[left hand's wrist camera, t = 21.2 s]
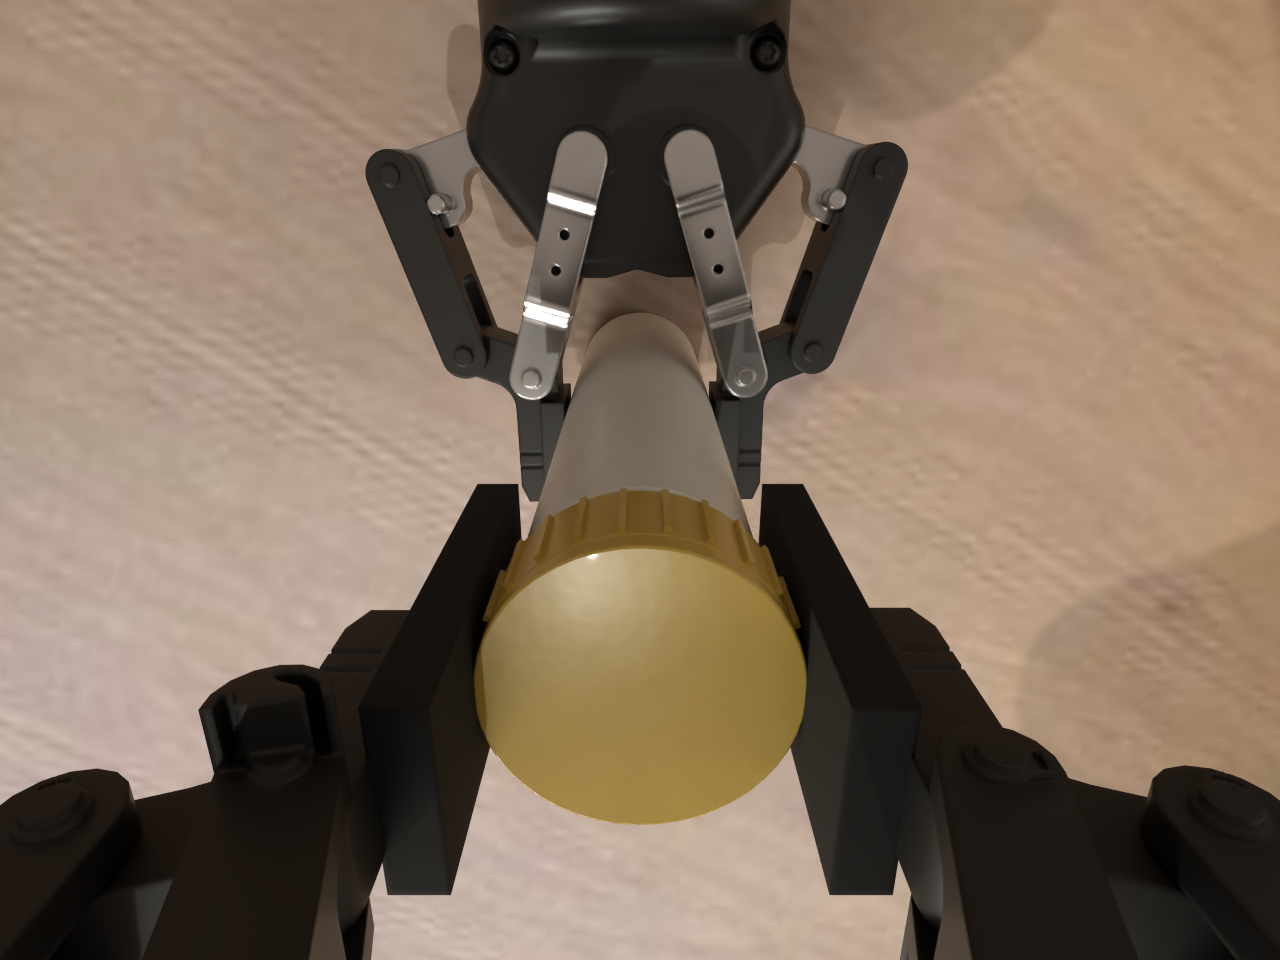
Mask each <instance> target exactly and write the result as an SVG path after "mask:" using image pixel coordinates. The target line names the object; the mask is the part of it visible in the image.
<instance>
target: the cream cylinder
mask: <svg viewBox="0 0 1280 960" xmlns="http://www.w3.org/2000/svg"><path fill="white" fill-rule="evenodd" d="M620 488H627V491H655V492H661V491H662V489H668V490H669V493H670V494H675V495H680V496H684V497H687V498H690V499H693V500H696V501H699V502H701V500H702V499H704V500H706V501H708V502H709V506H710V507H712V508H714V509H716V510H718V511H720V512H722V513H723V514H725V515H726V516H728V517H729V518H731V519H732V520H734V521H735V520H736V519H737V518H738V519H739V520H741V521H742V522H743V525H744V529H745V530H746V531H747V532H748V533H749V534H750V535H751V536H752V533H751V530H750V527H749V524H748V520H747V517H746V514H745V511H744V508H743V505H742V501H741V498H740V495H739V492H738V489H737V486H736V482H735V479H734V476H733V473H732V470H731V467H730V463H729V460H728V457H727V454H726V451H725V448H724V445H723V441H722V438H721V435H720V432H719V429H718V426H717V422H716V419H715V416H714V413H713V410H712V407H711V403H710V400H709V397H708V394H707V391H706V388H705V384H704V381H703V378H702V375H701V372H700V369H699V366H698V362H697V359H696V356H695V353H694V350H693V347H692V345H691V343H690V341H689V340H688V338H687V336H686V335H685V334H684V333H683V331H682V330H681V329H680V328H679V327H678V326H676V325H675V324H674V323H672V322H671V321H669V320H667V319H665V318H664V317H661V316H658V315H655V314H650V313H630V314H625V315H622V316H619V317H617V318H615V319H613V320H611V321H609V322H608V323H606V324H605V325H604V326H603V327H602V328H600V330H599V331H598V332H597V333H596V334H595V335H594V337H593V338H592V340H591V342H590V344H589V346H588V348H587V351H586V354H585V357H584V360H583V363H582V366H581V370H580V373H579V376H578V379H577V382H576V385H575V389H574V392H573V395H572V398H571V401H570V404H569V408H568V411H567V414H566V417H565V420H564V424H563V427H562V430H561V433H560V436H559V439H558V443H557V446H556V449H555V452H554V455H553V458H552V462H551V465H550V468H549V471H548V474H547V478H546V481H545V484H544V487H543V490H542V493H541V497H540V500H539V503H538V506H537V509H536V512H535V516H534V519H533V522H532V525H531V528H530V532H529V535H528V537H529V536H530V535H531V534H532V533H533V532H534V531H535V530H536V529H537V528H538V527H539V526H541V525H542V524H543V520H544V517H545V516H547V515H548V514H550V515H551V516H554V515H556V514H558V513H559V512H561V511H563V510H564V509H566V508H568V507H570V506H572V505H575V504H577V503H579V499H580V498H582V497H585V496H586V497H587V499H590V498H594V497H597V496H601V495H604V494H611V493H617V492H620ZM752 537H753V536H752Z"/></svg>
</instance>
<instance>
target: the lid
mask: <svg viewBox="0 0 1280 960" xmlns="http://www.w3.org/2000/svg"><path fill="white" fill-rule="evenodd" d="M482 621H485V622H487V625H486V628H485V631H484V634H483V637H482V640H481V643H480V646H479V649H478V651H477V654H476V660H475V666H474V688H475V699H476V710H477V716H478V719H479V723H480V726H481V729H482V731H483V733H484V735H485V737H486V739H487V742H488V744H489V745H490V747H491V749H492V750H493V752H494V753H495V755H496V756H497V758H498V759H499V761H500V762H501V763H502V764H503V765H504V766H505V767H506V769H507V770H508V771H509V772H510V773H511V774H512V775H513V776H514V777H515V778H516V779H517V780H518V781H520V782H521V783H522V784H523V785H524V786H525V787H526V788H528V789H529V790H531V791H532V792H534V793H535V794H537V795H538V796H539V797H541V798H543V799H544V800H546V801H548V802H550V803H552V804H554V805H556V806H558V807H560V808H562V809H565V810H567V811H570V812H572V813H575V814H577V815H581V816H584V817H588V818H591V819H595V820H599V821H605V822H611V823H617V824H631V825H648V824H662V823H670V822H677V821H681V820H685V819H689V818H694V817H697V816H700V815H703V814H706V813H709V812H711V811H714V810H716V809H719V808H721V807H723V806H725V805H727V804H729V803H731V802H733V801H735V800H736V799H738V798H739V797H741V796H743V795H744V794H746V793H747V792H749V791H750V790H751V789H753V788H754V787H755V786H756V785H758V784H759V783H760V782H761V781H763V780H764V779H765V778H766V777H767V776H768V775H769V774H770V773H771V772H772V770H773V769H774V768H775V767H776V766H777V765H778V764H779V762H780V761H781V760H782V758H783V757H784V756H785V754H786V753H787V752H788V750H789V748H790V746H791V744H792V743H793V741H794V739H795V737H796V735H797V733H798V730H799V727H800V725H801V722H802V719H803V714H804V705H805V694H806V683H807V667H806V660H805V657H804V653H803V649H802V646H801V642H800V640H799V637H798V634H797V631H796V629H799V628H801V625H800V622H799V619H798V616H797V614H796V611H795V608H794V605H793V603H792V600H791V597H790V594H789V591H788V589H787V586H786V583H785V580H784V578H783V576H782V577H779V578H778V575H777V572H776V570H775V567H774V564H773V561H772V558H771V555H770V552H769V549H768V548H767V547H766V545H764V546H762V547H761V546H760V545H759V544H758V543H757V542H756V541H755V539H754V538H753V537H752V536H751V535H750V534H749V533H748V532H747V531H746V530H745V529H744V525H743V522H742V521H741V520H739V519H738V518H737V519H736V520H735V521H734V520H732V519H731V518H729V517H728V516H726V515H725V514H723V513H722V512H720V511H718V510H716V509H714V508H712V507H710V506H709V502H708V501H706V500H704V499H702V500H701V502H699V501H696V500H693V499H690V498H687V497H684V496H680V495H675V494H670V493H669V490H668V489H662V491H661V492H655V491H627V488H620V492H617V493H611V494H604V495H601V496H597V497H594V498H590V499H587V497H586V496H585V497H582V498H580V499H579V503H577V504H575V505H572V506H570V507H568V508H566V509H564V510H563V511H561V512H559V513H558V514H556V515H554V516H551V515H550V514H548V515H547V516H545V517H544V520H543V524H542V525H541V526H539V527H538V528H537V529H536V530H535V531H534V532H533V533H532V534H531V535H530V536H529V537H528V538H527V539H526V540H525V541H523V540H521V539H520V540H519V541H518V542H517V544H516V547H515V550H514V553H513V556H512V559H511V561H510V563H509V565H508V567H507V569H506V571H503V570H500V572H499V574H498V577H497V580H496V582H495V585H494V588H493V591H492V594H491V596H490V599H489V602H488V605H487V607H486V610H485V613H484V616H483V619H482Z"/></svg>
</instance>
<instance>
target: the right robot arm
mask: <svg viewBox="0 0 1280 960" xmlns="http://www.w3.org/2000/svg"><path fill="white" fill-rule="evenodd" d="M790 3H791V0H478V11H479V25H480V38H481V52H482V73H481V79H480V84H479V88H478V91H477V95H476V97H475V100H474V102H473V104H472V106H471V108H470V111H469V114H468V118H467V126H466V129H465V130H462V131H459V132H457V133H454V134H451V135H448V136H446V137H443V138H440V139H437V140H435V141H432V142H429V143H426V144H424V145H421V146H418V147H415V148H412V149H410V150H401V149H384V150H380V151H377V152H376V153H374V154H373V155H372V156H371V157H370V159H369V160H368V162H367V165H366V179H367V182H368V185H369V187H370V190H371V192H372V195H373V197H374V199H375V202H376V204H377V207H378V209H379V211H380V214H381V216H382V218H383V221H384V223H385V226H386V228H387V230H388V233H389V235H390V238H391V240H392V242H393V245H394V247H395V249H396V252H397V254H398V257H399V259H400V261H401V264H402V266H403V269H404V271H405V273H406V276H407V278H408V281H409V283H410V285H411V288H412V290H413V292H414V295H415V297H416V300H417V302H418V304H419V307H420V309H421V312H422V314H423V316H424V319H425V321H426V324H427V326H428V328H429V331H430V333H431V335H432V338H433V340H434V343H435V345H436V347H437V350H438V352H439V355H440V357H441V359H442V362H443V364H444V366H445V368H446V369H447V370H448V371H449V372H450V373H451V374H452V375H454V376H456V377H459V378H464V379H468V378H473V377H475V376H476V377H479V378H482V379H484V380H487V381H490V382H493V383H496V384H499V385H501V386H502V387H504V388H505V389H507V390H508V391H509V392H510V394H511V395H512V397H513V398H514V400H515V403H516V408H517V421H518V435H519V450H520V464H521V478H522V487H523V489H524V491H525V493H526V495H527V497H528V499H529V501H530V502H533V501H539V500H540V497H541V493H542V490H543V487H544V484H545V481H546V478H547V474H548V471H549V468H550V465H551V462H552V458H553V455H554V452H555V449H556V446H557V443H558V439H559V436H560V433H561V430H562V427H563V424H564V420H565V417H566V414H567V411H568V408H569V404H570V401H571V384H563V368H562V361H563V357H564V353H565V349H566V345H567V341H568V337H569V333H570V329H571V325H572V321H573V317H574V313H575V310H576V306H577V303H578V299H579V296H580V292H581V288H582V284H583V280H584V278H608V277H611V276H615V275H618V274H622V273H625V272H629V271H632V270H643V271H647V272H650V273H654V274H658V275H662V276H665V277H692V280H693V284H694V288H695V291H696V295H697V298H698V301H699V305H700V308H701V311H702V315H703V318H704V322H705V325H706V329H707V333H708V336H709V340H710V343H711V347H712V351H713V354H714V358H715V361H716V365H717V379H716V381H710V382H709V400H710V403H711V407H712V410H713V413H714V416H715V419H716V422H717V426H718V429H719V432H720V435H721V438H722V441H723V445H724V448H725V451H726V454H727V457H728V460H729V463H730V467H731V470H732V473H733V476H734V479H735V482H736V486H737V489H738V492H739V495H740V498H741V499H752V498H753V496H754V494H755V492H756V490H757V488H758V486H759V483H760V467H761V466H760V463H761V446H762V425H763V405H764V400H765V397H766V395H767V393H768V391H769V390H770V389H771V388H772V387H773V386H774V385H775V384H776V383H778V382H780V381H782V380H784V379H787V378H790V377H793V376H795V375H798V374H801V373H808V374H815V373H819V372H822V371H824V370H825V369H826V368H828V367H829V366H830V365H831V363H832V362H833V360H834V357H835V355H836V352H837V350H838V347H839V345H840V342H841V340H842V337H843V335H844V332H845V329H846V327H847V324H848V322H849V319H850V317H851V314H852V312H853V309H854V307H855V304H856V301H857V299H858V296H859V294H860V291H861V289H862V286H863V284H864V281H865V279H866V276H867V273H868V271H869V268H870V266H871V263H872V261H873V258H874V256H875V253H876V251H877V248H878V245H879V243H880V240H881V238H882V235H883V233H884V230H885V228H886V225H887V223H888V220H889V217H890V215H891V212H892V210H893V207H894V205H895V202H896V200H897V197H898V195H899V192H900V189H901V187H902V184H903V182H904V179H905V177H906V174H907V169H908V161H907V157H906V154H905V153H904V151H903V150H902V148H900V147H899V146H898V145H896V144H894V143H891V142H881V143H875V144H868V145H864V144H861V143H858V142H855V141H852V140H849V139H846V138H843V137H840V136H837V135H834V134H831V133H828V132H825V131H822V130H819V129H816V128H813V127H810V126H807V125H805V117H804V112H803V109H802V106H801V104H800V102H799V100H798V98H797V96H796V94H795V91H794V88H793V85H792V82H791V78H790V73H789V66H788V42H789V22H790ZM791 165H792V166H793V167H795V168H796V169H797V170H798V172H799V173H800V175H801V177H802V181H803V191H802V196H801V205H802V209H803V211H804V213H805V214H806V215H807V216H808V217H809V218H810V219H812V220H814V221H816V224H815V227H814V229H813V232H812V235H811V238H810V240H809V243H808V246H807V249H806V251H805V254H804V257H803V260H802V263H801V265H800V268H799V271H798V274H797V276H796V279H795V282H794V285H793V287H792V290H791V293H790V296H789V299H788V301H787V304H786V307H785V310H784V312H783V315H782V318H781V321H780V323H779V325H776V326H773V327H770V328H768V329H765V330H762V331H760V332H757V328H756V324H755V320H754V316H753V312H752V302H751V297H750V293H749V289H748V285H747V281H746V277H745V273H744V269H743V265H742V261H741V258H740V254H739V250H738V246H737V242H736V241H737V239H738V238H739V237H740V235H741V234H742V232H743V231H744V230H745V228H746V227H747V225H748V224H749V223H750V221H751V220H752V219H753V217H754V216H755V214H756V213H757V212H758V210H759V209H760V208H761V206H762V205H763V203H764V202H765V201H766V199H767V198H768V196H769V195H770V194H771V192H772V191H773V190H774V188H775V187H776V185H777V184H778V183H779V181H780V180H781V178H782V177H783V176H784V174H785V173H786V172H787V170H788V169H789V167H790V166H791ZM480 169H482V170H483V171H484V173H485V174H486V175H487V177H488V178H489V179H490V181H491V182H492V183H493V185H494V186H495V187H496V189H497V190H498V191H499V193H500V194H501V195H502V197H503V198H504V199H505V200H506V202H507V203H508V204H509V206H510V207H511V208H512V210H513V211H514V212H515V214H516V215H517V216H518V218H519V219H520V220H521V222H522V223H523V224H524V226H525V227H526V228H527V230H528V231H529V232H530V234H531V235H532V236H533V237H534V239H535V240H536V241H537V247H536V252H535V256H534V260H533V265H532V269H531V274H530V278H529V282H528V287H527V291H526V295H525V300H524V307H523V317H522V322H521V326H520V330H519V334H516V333H513V332H510V331H507V330H504V329H501V328H498V327H497V325H496V322H495V320H494V317H493V314H492V312H491V309H490V307H489V304H488V301H487V299H486V296H485V294H484V291H483V288H482V286H481V283H480V281H479V278H478V276H477V273H476V270H475V268H474V265H473V263H472V260H471V257H470V255H469V252H468V250H467V247H466V245H465V242H464V239H463V237H462V234H461V232H460V229H459V226H458V225H460V224H462V223H464V222H465V221H466V220H467V219H468V218H469V216H470V215H471V212H472V208H473V201H472V197H471V190H470V188H471V182H472V179H473V177H474V175H475V174H476V173H477V172H478V171H479V170H480Z"/></svg>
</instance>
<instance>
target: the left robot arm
mask: <svg viewBox="0 0 1280 960" xmlns="http://www.w3.org/2000/svg"><path fill="white" fill-rule="evenodd" d="M520 539H521V522H520V506H519V490H518V484H477V486H476V488H475V490H474V492H473V494H472V495H471V497H470V499H469V501H468V503H467V505H466V507H465V508H464V510H463V512H462V514H461V516H460V518H459V520H458V522H457V523H456V525H455V527H454V529H453V531H452V533H451V535H450V536H449V538H448V540H447V542H446V544H445V546H444V548H443V550H442V551H441V553H440V555H439V557H438V559H437V561H436V563H435V564H434V566H433V568H432V570H431V572H430V574H429V576H428V578H427V579H426V581H425V583H424V585H423V587H422V589H421V591H420V592H419V594H418V596H417V598H416V600H415V602H414V604H413V605H412V607H411V609H410V610H371V611H369V612H368V613H367V614H365V615H364V616H362V617H361V618H360V619H358V620H357V621H355V622H354V623H353V624H351V625H350V626H348V627H347V628H346V629H345V630H344V632H343V633H342V635H341V636H340V638H339V639H338V641H337V642H336V644H335V645H334V647H333V648H332V650H331V651H332V652H331V654H328V656H327V657H326V659H325V660H324V662H323V663H322V665H321V666H320V669H318V668H314V667H310V666H306V665H278V666H273V667H269V668H264V669H260V670H255V671H252V672H250V673H248V674H245V675H243V676H240V677H238V678H236V679H233V680H231V681H229V682H228V683H226V684H225V685H223V686H222V687H221V688H219V689H218V690H216V691H215V692H213V693H212V694H211V695H210V696H209V697H208V698H207V700H206V701H205V702H204V703H203V705H202V706H201V707H200V709H199V714H200V718H201V722H202V726H203V730H204V734H205V738H206V742H207V746H208V750H209V754H210V759H211V763H212V767H213V771H214V776H213V778H212V781H211V782H208V783H205V784H201V785H198V786H195V787H191V788H187V789H183V790H178V791H174V792H169V793H165V794H160V795H156V796H151V797H147V798H142V799H138V800H134V798H133V794H132V791H131V788H130V784H129V782H128V781H127V780H126V779H125V778H124V777H122V776H121V775H120V774H119V773H118V772H114V771H108V770H102V769H90V770H81V771H73V772H68V773H65V774H62V775H58V776H56V777H52V778H49V779H46V780H43V781H41V782H39V783H37V784H35V785H33V786H31V787H29V788H27V789H25V790H23V791H21V792H19V793H17V794H15V795H14V796H12V797H10V798H9V799H8V800H7V801H5V802H4V803H3V804H1V805H0V960H371V953H372V943H373V933H374V923H373V916H372V910H371V904H370V898H369V896H370V893H371V891H372V888H373V886H374V883H375V880H376V878H377V875H378V872H379V870H380V867H381V864H382V862H383V868H384V875H385V881H386V887H387V893H388V895H451V892H452V889H453V885H454V881H455V877H456V873H457V870H458V866H459V862H460V858H461V855H462V851H463V847H464V843H465V840H466V836H467V832H468V828H469V824H470V821H471V817H472V813H473V809H474V806H475V802H476V798H477V794H478V790H479V787H480V783H481V779H482V775H483V772H484V768H485V764H486V760H487V756H488V753H489V749H490V745H489V744H488V742H487V739H486V737H485V735H484V733H483V731H482V729H481V726H480V723H479V719H478V716H477V710H476V699H475V688H474V666H475V660H476V654H477V651H478V649H479V646H480V643H481V640H482V637H483V634H484V631H485V628H486V625H487V622H485V621H482V619H483V616H484V613H485V610H486V607H487V605H488V602H489V599H490V596H491V594H492V591H493V588H494V585H495V582H496V580H497V577H498V574H499V572H500V570H503V571H506V569H507V567H508V565H509V563H510V561H511V559H512V556H513V553H514V550H515V547H516V544H517V542H518V541H519V540H520ZM521 540H522V539H521ZM759 545H760V546H761V547H762V546H764V545H766V547H767V548H768V549H769V552H770V555H771V558H772V561H773V564H774V567H775V570H776V572H777V575H778V578H779V577H782V576H783V578H784V580H785V583H786V586H787V589H788V591H789V594H790V597H791V600H792V603H793V605H794V608H795V611H796V614H797V616H798V619H799V622H800V625H801V628H799V629H796V631H797V634H798V637H799V640H800V642H801V646H802V649H803V653H804V657H805V660H806V667H807V683H806V694H805V705H804V714H803V719H802V722H801V725H800V727H799V730H798V733H797V735H796V737H795V739H794V741H793V743H792V744H791V746H790V747H791V751H792V755H793V758H794V762H795V766H796V770H797V774H798V777H799V781H800V785H801V789H802V792H803V796H804V800H805V804H806V808H807V811H808V815H809V819H810V823H811V826H812V830H813V834H814V838H815V842H816V845H817V849H818V853H819V857H820V860H821V864H822V868H823V872H824V876H825V879H826V883H827V887H828V891H829V894H830V895H893V890H894V884H895V878H896V871H897V865H898V859H899V862H900V865H901V867H902V870H903V872H904V875H905V878H906V880H907V883H908V886H909V888H910V891H911V898H910V904H909V910H908V916H907V921H906V927H905V933H904V939H903V945H902V951H901V957H900V960H1280V800H1278V799H1277V798H1276V797H1274V796H1273V795H1272V794H1270V793H1269V792H1267V791H1265V790H1263V789H1261V788H1259V787H1257V786H1255V785H1253V784H1251V783H1249V782H1247V781H1245V780H1243V779H1242V778H1239V777H1236V776H1233V775H1231V774H1226V773H1224V772H1220V771H1217V770H1214V769H1210V768H1202V767H1194V766H1185V765H1184V766H1178V767H1172V768H1167V769H1164V770H1162V771H1161V772H1160V773H1159V774H1158V775H1157V776H1155V777H1154V778H1153V780H1152V783H1151V786H1150V790H1149V793H1148V796H1147V797H1144V796H1139V795H1135V794H1130V793H1126V792H1121V791H1117V790H1112V789H1108V788H1103V787H1099V786H1094V785H1090V784H1087V783H1083V782H1080V781H1076V780H1073V779H1070V778H1068V777H1067V774H1066V772H1065V771H1064V769H1063V768H1062V766H1061V765H1060V763H1059V762H1058V760H1057V759H1056V757H1055V756H1054V755H1053V754H1051V753H1050V752H1049V751H1048V750H1046V749H1045V748H1044V747H1043V746H1041V745H1040V744H1039V743H1038V742H1036V741H1034V740H1032V739H1030V738H1028V737H1026V736H1024V735H1022V734H1020V733H1018V732H1016V731H1013V730H1010V729H1006V728H1003V727H1002V726H1001V724H1000V723H999V721H998V720H997V718H996V717H995V715H994V714H993V712H992V711H991V709H990V708H989V706H988V705H987V703H986V702H985V700H984V699H983V697H982V696H981V694H980V693H979V691H978V690H977V688H976V687H975V685H974V684H973V682H972V681H971V679H970V678H969V676H968V675H967V673H966V672H965V670H962V669H961V664H960V662H959V661H958V659H957V658H956V656H955V655H954V653H953V652H950V650H949V646H948V644H947V643H946V641H945V640H944V638H943V637H942V635H941V634H940V632H939V631H938V629H937V628H936V626H935V625H933V624H932V623H930V622H929V621H928V620H926V619H925V618H923V617H922V616H920V615H919V614H918V613H916V612H915V611H913V610H912V609H911V608H869V606H868V605H867V603H866V601H865V599H864V597H863V595H862V593H861V591H860V590H859V588H858V586H857V584H856V582H855V580H854V578H853V577H852V575H851V573H850V571H849V569H848V567H847V565H846V564H845V562H844V560H843V558H842V556H841V554H840V552H839V550H838V549H837V547H836V545H835V543H834V541H833V539H832V537H831V536H830V534H829V532H828V530H827V528H826V526H825V524H824V522H823V521H822V519H821V517H820V515H819V513H818V511H817V509H816V508H815V506H814V504H813V502H812V500H811V498H810V496H809V494H808V493H807V491H806V489H805V487H804V485H803V484H762V497H761V514H760V530H759Z"/></svg>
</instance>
